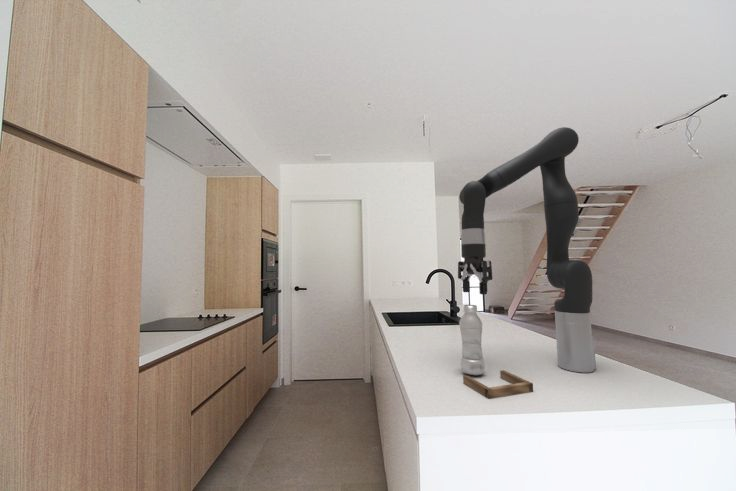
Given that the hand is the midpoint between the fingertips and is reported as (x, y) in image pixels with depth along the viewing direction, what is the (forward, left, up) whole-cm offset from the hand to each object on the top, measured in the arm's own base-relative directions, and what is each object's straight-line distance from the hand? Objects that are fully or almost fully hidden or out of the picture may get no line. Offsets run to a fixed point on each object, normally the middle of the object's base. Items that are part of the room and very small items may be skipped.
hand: (474, 293), depth 97 cm
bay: (+6, +15, -23) cm, 28 cm away
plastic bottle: (+6, +6, -23) cm, 25 cm away
